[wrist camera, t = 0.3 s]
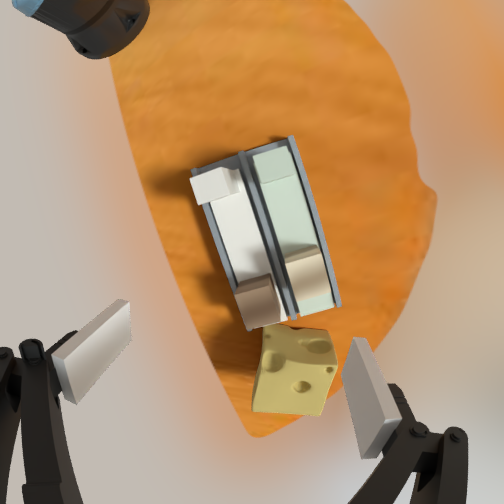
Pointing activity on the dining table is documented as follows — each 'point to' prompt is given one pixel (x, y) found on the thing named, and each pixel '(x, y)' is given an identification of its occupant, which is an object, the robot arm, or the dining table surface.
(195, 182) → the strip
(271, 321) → the walnut block
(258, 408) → the cheese
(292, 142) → the lane board
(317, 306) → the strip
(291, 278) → the maple block
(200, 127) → the dining table surface
